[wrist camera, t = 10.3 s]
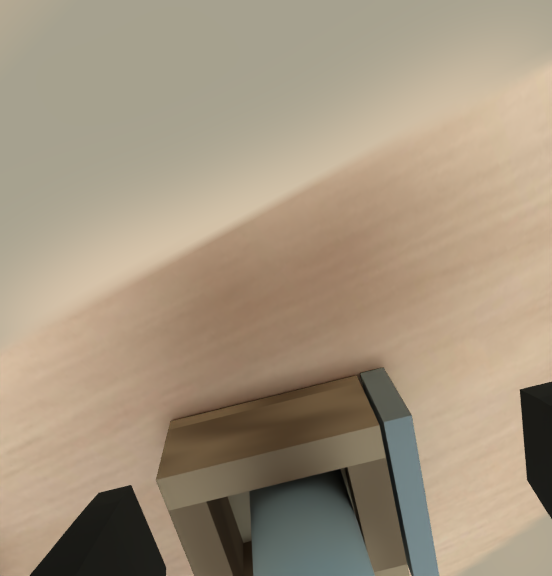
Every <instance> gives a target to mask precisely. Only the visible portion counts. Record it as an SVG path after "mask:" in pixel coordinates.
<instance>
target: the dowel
mask: <svg viewBox="0 0 552 576" xmlns="http://www.w3.org/2000/svg"><path fill="white" fill-rule="evenodd" d="M249 494H250V515H251V536H252V557H253V576H375V574H374V571H373V568H372V565H371V562H370V559H369V556H368V553H367V550H366V546H365V543H364V540H363V537H362V534H361V531H360V528H359V525H358V522H357V519H356V516H355V513H354V510H353V506H352V503H351V500H350V497H349V494H348V491H347V488H346V485H345V482H344V479H343V476H342V473H341V470H340V469H337V470H333V471H329V472H325V473H321V474H317V475H313V476H309V477H304V478H300V479H296V480H292V481H288V482H284V483H280V484H276V485H272V486H268V487H264V488H259V489H255V490H251V491H249Z"/></svg>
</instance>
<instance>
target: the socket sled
mask: <svg viewBox="0 0 552 576" xmlns="http://www.w3.org/2000/svg"><path fill="white" fill-rule="evenodd" d="M337 469H340V470H341V473H342V476H343V479H344V482H345V485H346V488H347V491H348V494H349V497H350V500H351V503H352V506H353V510H354V513H355V516H356V519H357V522H358V525H359V528H360V531H361V534H362V537H363V540H364V543H365V546H366V550H367V553H368V556H369V559H370V562H371V565H372V568H373V571H374V574H375V576H409V571H408V566H407V561H406V556H405V551H404V546H403V541H402V536H401V531H400V526H399V521H398V516H397V511H396V506H395V501H394V496H393V491H392V486H391V481H390V475H389V470H388V465H387V460H386V455H385V450H384V445H383V440H382V435H381V430H380V425H379V423H378V421H377V419H376V416H375V414H374V412H373V410H372V408H371V406H370V403H369V401H368V399H367V397H366V395H365V393H364V390H363V388H362V386H361V384H360V382H359V380H358V377H357V375H356V376H352V377H348V378H344V379H340V380H336V381H332V382H328V383H324V384H320V385H316V386H312V387H308V388H304V389H300V390H296V391H292V392H288V393H284V394H280V395H276V396H271V397H267V398H263V399H259V400H255V401H251V402H247V403H243V404H239V405H235V406H231V407H227V408H223V409H219V410H215V411H211V412H207V413H203V414H199V415H195V416H191V417H187V418H182V419H178V420H174V421H170V425H169V429H168V433H167V437H166V441H165V445H164V449H163V453H162V457H161V461H160V465H159V469H158V474H157V478H156V482H157V484H158V487H159V489H160V492H161V494H162V496H163V499H164V501H165V504H166V506H167V509H168V511H169V514H170V516H171V519H172V521H173V524H174V526H175V529H176V531H177V534H178V536H179V539H180V541H181V544H182V546H183V549H184V551H185V554H186V556H187V559H188V561H189V564H190V566H191V569H192V571H193V574H194V576H253V557H252V536H251V515H250V494H249V491H251V490H255V489H259V488H264V487H268V486H272V485H276V484H280V483H284V482H288V481H292V480H296V479H300V478H304V477H309V476H313V475H317V474H321V473H325V472H329V471H333V470H337Z"/></svg>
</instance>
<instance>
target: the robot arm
mask: <svg viewBox="0 0 552 576" xmlns="http://www.w3.org/2000/svg"><path fill="white" fill-rule="evenodd" d="M520 397H521V410H522V422H523V434H524V447H525V459H526V471H527V481H528V482H529V484H530V485H531V487H532V489H533V490H534V492H535V493H536V495H537V497H538V498H539V500H540V501H541V503H542V505H543V506H544V508H545V509H546V511H547V512H548V514H549V515H550V517H551V518H552V382H549V383H544V384H540V385H536V386H532V387H528V388H524V389H520ZM30 576H166V566H165V564H164V561H163V559H162V557H161V554H160V552H159V549H158V547H157V545H156V542H155V540H154V538H153V535H152V533H151V531H150V528H149V526H148V524H147V521H146V519H145V516H144V514H143V512H142V509H141V507H140V505H139V502H138V500H137V498H136V495H135V493H134V491H133V488H132V486H131V485H129V486H125V487H121V488H117V489H113V490H109V491H105V492H101V493H98V494H97V496H96V497H95V498H94V499H93V500H92V501H91V502H90V503H89V504H88V506H87V507H86V508H85V509H84V510H83V511H82V513H81V514H80V515H79V516H78V517H77V519H76V520H75V521H74V522H73V523H72V525H71V526H70V527H69V528H68V530H67V531H66V532H65V533H64V534H63V536H62V537H61V538H60V539H59V541H58V542H57V543H56V544H55V545H54V547H53V548H52V549H51V550H50V552H49V553H48V554H47V555H46V556H45V558H44V559H43V560H42V561H41V562H40V564H39V565H38V566H37V567H36V568H35V570H34V571H33V572H32V573H31V575H30Z"/></svg>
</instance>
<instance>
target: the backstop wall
mask: <svg viewBox="0 0 552 576" xmlns="http://www.w3.org/2000/svg"><path fill="white" fill-rule="evenodd" d="M360 375H361V380H362V385H363V389H364V393H365V395H366V397H367V399H368V401H369V403H370V406H371V408H372V410H373V412H374V414H375V416H376V419H377V421H378V423H379V425H380V430H381V435H382V440H383V445H384V450H385V455H386V460H387V465H388V470H389V475H390V481H391V486H392V491H393V496H394V501H395V506H396V511H397V516H398V521H399V526H400V531H401V536H402V541H403V546H404V551H405V556H406V561H407V565H408V567H409V570H410V573H411V575H412V576H439V572H438V566H437V560H436V554H435V549H434V543H433V537H432V531H431V525H430V519H429V514H428V508H427V502H426V496H425V490H424V484H423V478H422V473H421V467H420V461H419V455H418V449H417V443H416V438H415V432H414V426H413V420H412V415H411V413H410V412H409V410H408V408H407V406H406V405H405V403H404V401H403V400H402V398H401V396H400V395H399V393H398V391H397V390H396V388H395V386H394V384H393V383H392V381H391V379H390V378H389V376H388V374H387V373H386V371H385V369H384V368H379V369H375V370H371V371H367V372H363V373H360Z"/></svg>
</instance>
